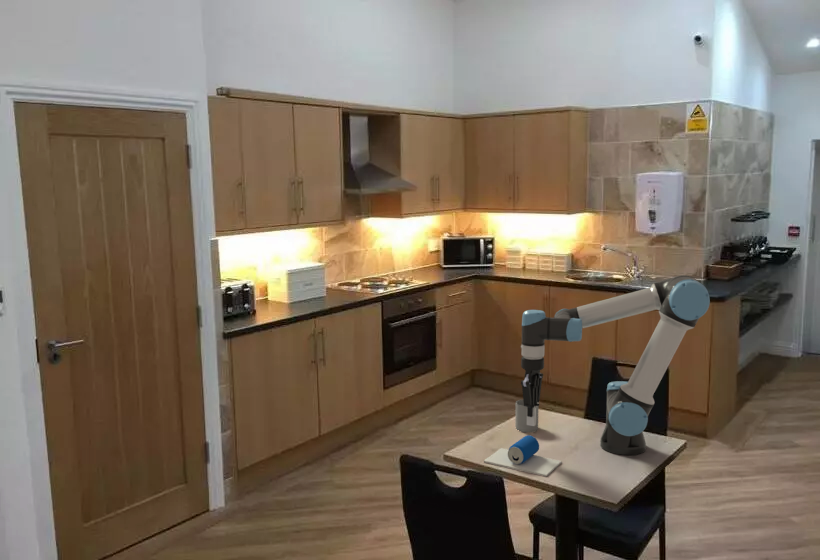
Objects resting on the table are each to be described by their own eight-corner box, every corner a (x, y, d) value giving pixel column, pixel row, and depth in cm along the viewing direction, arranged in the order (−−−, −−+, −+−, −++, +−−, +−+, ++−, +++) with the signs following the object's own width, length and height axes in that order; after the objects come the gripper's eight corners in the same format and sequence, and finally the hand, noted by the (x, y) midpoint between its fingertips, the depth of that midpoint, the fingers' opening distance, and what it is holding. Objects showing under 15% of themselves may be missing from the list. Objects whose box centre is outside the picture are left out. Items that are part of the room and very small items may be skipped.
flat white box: (561, 462, 236) (561, 461, 236) (546, 476, 225) (546, 474, 225) (501, 449, 247) (501, 447, 247) (483, 462, 237) (483, 460, 237)
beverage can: (522, 450, 244) (505, 462, 235) (523, 432, 243) (507, 443, 234) (539, 455, 241) (523, 467, 231) (540, 437, 240) (525, 448, 230)
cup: (539, 432, 264) (539, 406, 262) (517, 432, 264) (517, 406, 262) (536, 424, 272) (536, 399, 271) (514, 424, 272) (514, 399, 271)
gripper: (530, 351, 245) (529, 417, 248) (513, 359, 234) (512, 428, 238) (551, 354, 241) (549, 421, 244) (535, 362, 230) (533, 432, 234)
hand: (531, 424), depth 241 cm, fingers closed
